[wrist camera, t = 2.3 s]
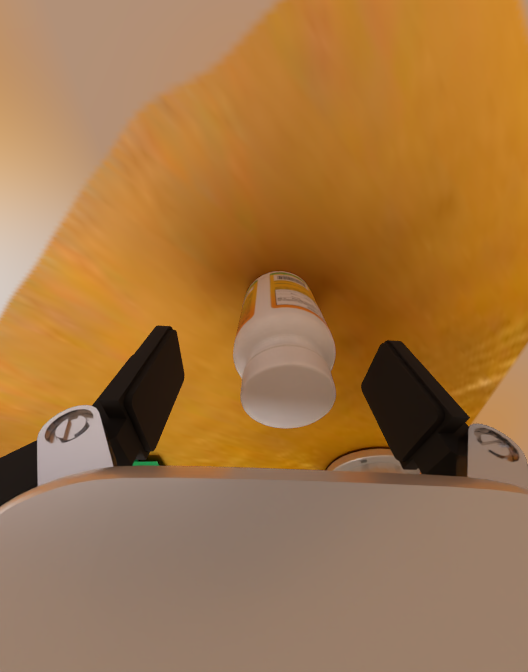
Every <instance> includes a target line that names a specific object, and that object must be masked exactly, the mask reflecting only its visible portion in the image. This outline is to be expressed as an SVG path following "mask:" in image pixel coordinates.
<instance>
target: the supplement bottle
mask: <svg viewBox="0 0 528 672" xmlns="http://www.w3.org/2000/svg"><path fill="white" fill-rule="evenodd" d="M335 355H336V350H335V344H334V340H333V337H332V335H331V332H330V330H329V328H328V326H327V324H326V322H325V320H324V318H323V315H322V313H321V311H320V309H319V307H318V305H317V303H316V301H315V298H314V296H313V294H312V292H311V290H310V288H309V287H308V285H307V284H306V283H305V282H304V281H303V280H302V279H301V278H300V277H298V276H296V275H295V274H292V273H289V272H284V271H274V272H269V273H267V274H264V275H262V276H260V277H259V278H257V279H256V280H255V281H254V282H253V283H252V284H251V286H250V287H249V289H248V290H247V292H246V295H245V298H244V302H243V307H242V312H241V317H240V321H239V325H238V330H237V334H236V338H235V343H234V350H233V359H234V363H235V367H236V369H237V372H238V373H239V375H240V376H241V378H242V386H241V402H242V406H243V408H244V410H245V411H246V413H247V414H248V415H249V416H250V417H251V418H253V419H254V420H256V421H257V422H259V423H261V424H264V425H267V426H271V427H275V428H297V427H302V426H305V425H308V424H311V423H314V422H315V421H317V420H319V419H321V418H322V417H323V416H325V415H326V414H327V413H328V412H329V411H330V409H331V408H332V406H333V404H334V402H335V398H336V389H335V385H334V381H333V378H332V375H331V370H332V368H333V365H334V361H335Z"/></svg>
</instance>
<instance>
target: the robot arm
mask: <svg viewBox="0 0 528 672" xmlns="http://www.w3.org/2000/svg"><path fill="white" fill-rule="evenodd" d="M183 381H184V369H183V364H182V358H181V353H180V347H179V342H178V337H177V332H176V330H173V329H172V327H171V326H156V327H155V328H154V329H153V331H152V332H151V333H150V335H149V336H148V337H147V338H146V340H145V341H144V342H143V344H142V345H141V346H140V347H139V349H138V350H137V351H136V353H135V354H134V355H132V356H131V357H130V358H129V360H128V361H127V362H126V363H125V365H124V366H123V367H122V368H121V370H120V371H119V372H118V374H117V375H116V376H115V377H114V379H113V380H112V381H111V382H110V384H109V385H108V386H107V388H106V389H105V390H104V391H103V393H102V394H101V395H100V396H99V398H98V399H97V400H96V401H95V403H94V404H93V405H92V406H89V405H81V406H75V407H72V408H69V409H66V410H64V411H62V412H60V413H58V414H57V415H55V416H54V417H53V418H51V419H50V420H49V421H48V422H47V423H46V424H45V425H44V426H43V427H42V429H41V430H40V432H39V434H38V438H37V441H35V442H32V443H30V444H28V445H26V446H24V447H22V448H20V449H18V450H16V451H14V452H12V453H10V454H8V455H6V456H4V457H1V458H0V672H528V464H527V460H526V457H525V455H524V453H523V452H522V450H521V449H520V448H519V446H518V445H517V444H516V443H514V442H513V441H512V440H511V439H510V438H509V437H507V436H506V435H505V434H503V433H501V432H500V431H498V430H496V429H494V428H492V427H489V426H487V425H483V424H472V425H470V426H468V425H467V424H466V423H465V422H466V421H467V420H468V419H469V418H470V417H469V416H468V415H467V414H466V413H465V412H464V411H463V409H462V408H461V407H460V406H459V405H458V404H457V403H456V402H455V401H454V399H453V398H452V397H451V396H450V395H449V394H448V393H447V392H446V391H445V389H444V388H443V387H442V386H441V385H440V384H439V383H438V382H437V381H436V379H435V378H434V377H433V376H432V375H431V374H430V373H429V372H428V371H427V369H426V368H425V367H424V366H423V365H422V364H421V363H420V362H419V360H418V359H417V358H416V357H415V356H414V355H413V354H412V353H411V352H410V350H409V349H408V348H407V347H406V346H405V345H404V344H403V343H402V342H401V341H389V340H388V341H385V342H384V343H382V344H381V345H380V347H379V349H378V351H377V353H376V355H375V357H374V359H373V361H372V363H371V365H370V368H369V370H368V372H367V374H366V376H365V378H364V380H363V382H362V385H361V388H362V392H363V394H364V396H365V398H366V400H367V402H368V404H369V406H370V408H371V410H372V412H373V414H374V416H375V418H376V421H377V423H378V425H379V427H380V429H381V431H382V433H383V435H384V437H385V439H386V441H387V443H388V445H389V447H390V449H382V448H380V449H367V450H361V451H357V452H353V453H350V454H348V455H345V456H343V457H341V458H339V459H337V460H336V461H334V462H333V463H332V464H331V465H330V466H329V467H328V468H327V470H298V469H270V468H238V467H205V466H145V465H142V466H132V465H133V463H134V461H135V460H146V459H147V457H148V455H149V453H150V451H154V450H155V448H156V446H157V444H158V441H159V439H160V436H161V434H162V432H163V429H164V427H165V424H166V422H167V420H168V417H169V415H170V412H171V410H172V407H173V405H174V403H175V400H176V398H177V395H178V393H179V391H180V388H181V386H182V383H183ZM420 472H421V474H420Z"/></svg>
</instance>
